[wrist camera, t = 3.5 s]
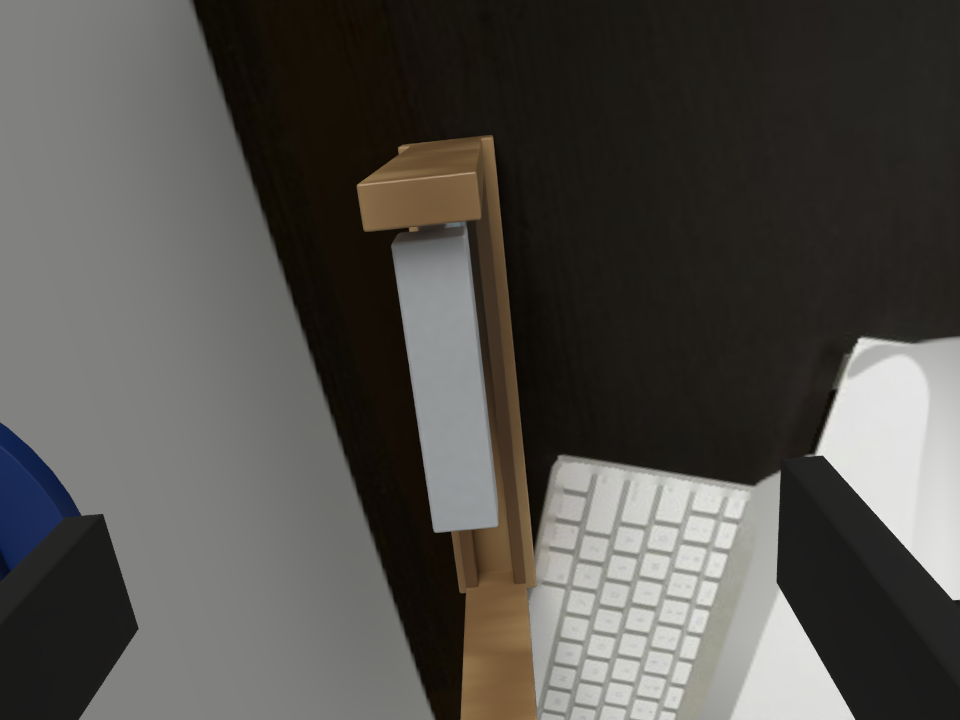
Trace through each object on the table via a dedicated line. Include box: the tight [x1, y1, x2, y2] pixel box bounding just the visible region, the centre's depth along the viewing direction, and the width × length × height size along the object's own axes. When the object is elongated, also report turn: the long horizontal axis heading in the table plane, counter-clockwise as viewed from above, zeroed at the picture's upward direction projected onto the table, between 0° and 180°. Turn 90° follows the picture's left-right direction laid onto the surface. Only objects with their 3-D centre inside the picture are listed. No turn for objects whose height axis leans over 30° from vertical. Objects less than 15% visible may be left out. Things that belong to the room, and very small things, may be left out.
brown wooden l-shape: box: [357, 135, 538, 720], centre depth 29 cm, size 4×22×15 cm, turn 6°
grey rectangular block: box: [391, 221, 498, 533], centre depth 27 cm, size 2×9×12 cm, turn 6°
